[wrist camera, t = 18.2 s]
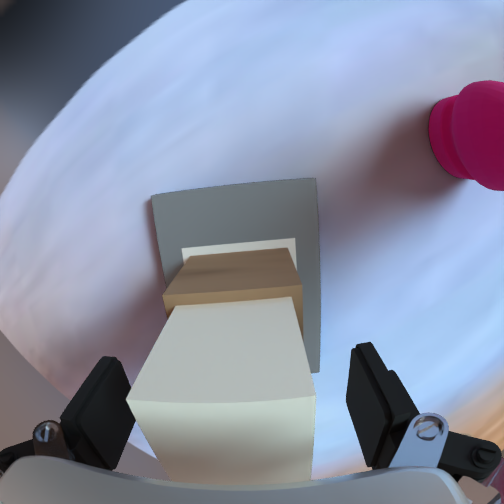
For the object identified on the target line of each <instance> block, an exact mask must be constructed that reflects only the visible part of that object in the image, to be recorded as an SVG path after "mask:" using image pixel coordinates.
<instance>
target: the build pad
mask: <svg viewBox="0 0 504 504" xmlns="http://www.w3.org/2000/svg"><path fill="white" fill-rule="evenodd" d="M151 200H152V207H153V214H154V221H155V227H156V233H157V239H158V245H159V251H160V257H161V262H162V267H163V273H164V278H165V283H166V288H168V286H169V285H170V284H171V282H172V281H173V279H174V278H175V277H176V275H177V274H178V272H179V271H180V270H181V268H182V267H183V265H184V264H185V263H186V261H187V260H188V259H189V257H190V256H195V255H207V254H218V253H229V252H241V251H252V250H264V249H275V248H287V247H288V250H289V252H290V255H291V257H292V260H293V262H294V265H295V268H296V270H297V273H298V275H299V278H300V280H301V283H302V294H303V339H304V348H305V352H306V356H307V360H308V364H309V368H310V372H311V373H318V372H319V369H320V328H321V288H320V246H319V223H318V205H317V189H316V178H304V179H289V180H276V181H264V182H253V183H243V184H233V185H224V186H215V187H206V188H198V189H190V190H183V191H176V192H169V193H162V194H156V195H152V196H151Z"/></svg>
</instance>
